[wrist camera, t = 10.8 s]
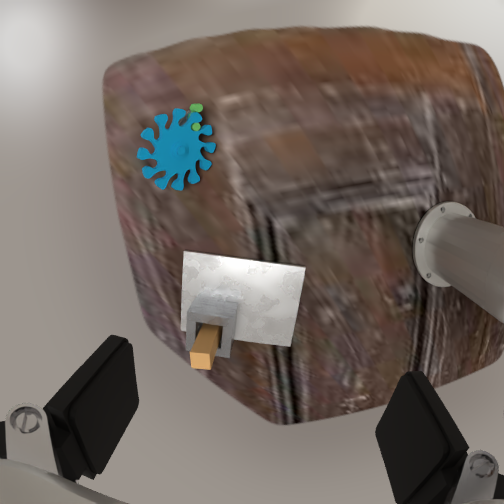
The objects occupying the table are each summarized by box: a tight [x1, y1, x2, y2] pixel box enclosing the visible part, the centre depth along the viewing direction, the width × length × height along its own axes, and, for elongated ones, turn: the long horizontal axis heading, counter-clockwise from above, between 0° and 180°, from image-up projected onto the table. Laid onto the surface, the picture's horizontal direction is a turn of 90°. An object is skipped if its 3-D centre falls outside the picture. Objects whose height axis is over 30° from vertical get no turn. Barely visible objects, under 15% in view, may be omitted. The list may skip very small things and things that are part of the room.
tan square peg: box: [190, 323, 223, 370], centre depth 36 cm, size 2×2×10 cm
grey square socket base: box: [181, 250, 306, 358], centre depth 38 cm, size 16×12×6 cm
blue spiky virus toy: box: [137, 104, 216, 190], centre depth 34 cm, size 11×6×10 cm
